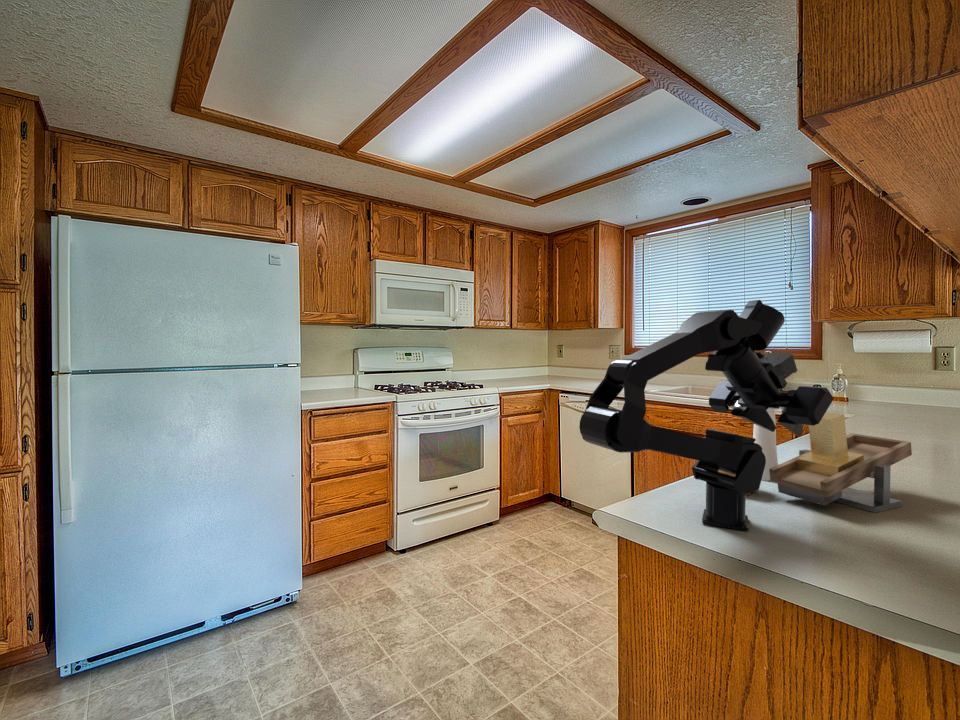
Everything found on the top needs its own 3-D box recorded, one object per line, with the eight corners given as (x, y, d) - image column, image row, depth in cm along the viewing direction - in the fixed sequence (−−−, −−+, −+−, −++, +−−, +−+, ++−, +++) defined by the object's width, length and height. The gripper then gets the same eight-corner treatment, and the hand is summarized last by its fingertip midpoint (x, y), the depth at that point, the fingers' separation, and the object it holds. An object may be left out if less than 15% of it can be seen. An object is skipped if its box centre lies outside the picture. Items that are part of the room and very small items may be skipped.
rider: (838, 478, 82) (833, 423, 81) (798, 468, 89) (792, 418, 88) (864, 465, 85) (859, 412, 84) (823, 457, 92) (818, 408, 91)
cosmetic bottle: (786, 478, 100) (788, 377, 99) (768, 482, 97) (770, 378, 97) (759, 472, 106) (760, 375, 105) (741, 475, 103) (743, 376, 102)
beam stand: (875, 512, 80) (876, 469, 79) (787, 488, 93) (788, 451, 93) (901, 506, 83) (902, 464, 83) (812, 483, 97) (813, 447, 96)
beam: (831, 509, 78) (829, 483, 78) (769, 490, 88) (767, 468, 88) (915, 465, 88) (913, 442, 88) (851, 453, 98) (849, 432, 98)
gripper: (827, 335, 70) (868, 404, 75) (720, 337, 87) (759, 393, 92) (792, 389, 67) (837, 457, 72) (688, 380, 85) (730, 436, 89)
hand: (786, 432), depth 81 cm, fingers open, 4 cm apart
